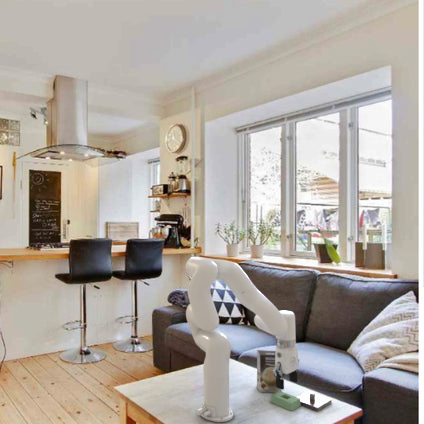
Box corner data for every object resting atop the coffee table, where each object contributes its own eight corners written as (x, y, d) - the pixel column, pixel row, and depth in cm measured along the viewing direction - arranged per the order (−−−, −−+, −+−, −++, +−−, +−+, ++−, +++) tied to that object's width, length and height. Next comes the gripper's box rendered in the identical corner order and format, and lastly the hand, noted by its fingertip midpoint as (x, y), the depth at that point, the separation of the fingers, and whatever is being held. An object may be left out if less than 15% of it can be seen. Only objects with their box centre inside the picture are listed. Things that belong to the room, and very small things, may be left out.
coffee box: (260, 392, 179) (259, 354, 179) (256, 386, 185) (256, 349, 185) (282, 393, 178) (281, 355, 178) (278, 386, 184) (277, 350, 184)
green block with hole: (291, 410, 162) (291, 403, 162) (271, 402, 170) (271, 395, 170) (300, 406, 166) (300, 398, 166) (280, 398, 174) (279, 390, 174)
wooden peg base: (317, 411, 162) (317, 401, 162) (293, 402, 170) (293, 392, 170) (331, 403, 169) (331, 393, 168) (307, 394, 176) (307, 385, 176)
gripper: (282, 349, 160) (283, 394, 160) (305, 339, 170) (307, 381, 170) (264, 345, 166) (266, 388, 166) (288, 335, 176) (289, 376, 176)
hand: (286, 384), depth 168 cm, fingers open, 9 cm apart
